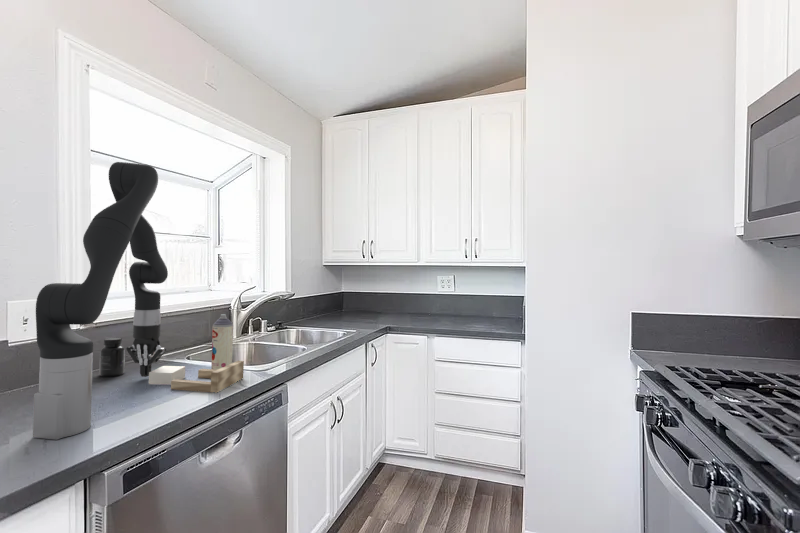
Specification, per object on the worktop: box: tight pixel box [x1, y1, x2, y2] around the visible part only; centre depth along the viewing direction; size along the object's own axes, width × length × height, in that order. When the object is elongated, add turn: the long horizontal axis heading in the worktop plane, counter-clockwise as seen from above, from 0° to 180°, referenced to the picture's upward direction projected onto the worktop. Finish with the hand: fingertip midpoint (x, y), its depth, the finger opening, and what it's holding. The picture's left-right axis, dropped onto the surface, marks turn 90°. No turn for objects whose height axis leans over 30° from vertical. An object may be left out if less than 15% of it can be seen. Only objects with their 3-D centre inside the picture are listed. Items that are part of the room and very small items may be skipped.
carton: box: [148, 365, 186, 386], centre depth 130 cm, size 8×7×4 cm
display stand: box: [170, 360, 245, 394], centre depth 128 cm, size 15×15×6 cm
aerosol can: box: [211, 313, 234, 370], centre depth 145 cm, size 7×7×20 cm
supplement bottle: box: [98, 337, 126, 378], centre depth 135 cm, size 7×7×12 cm
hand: (145, 376), depth 131 cm, fingers closed
